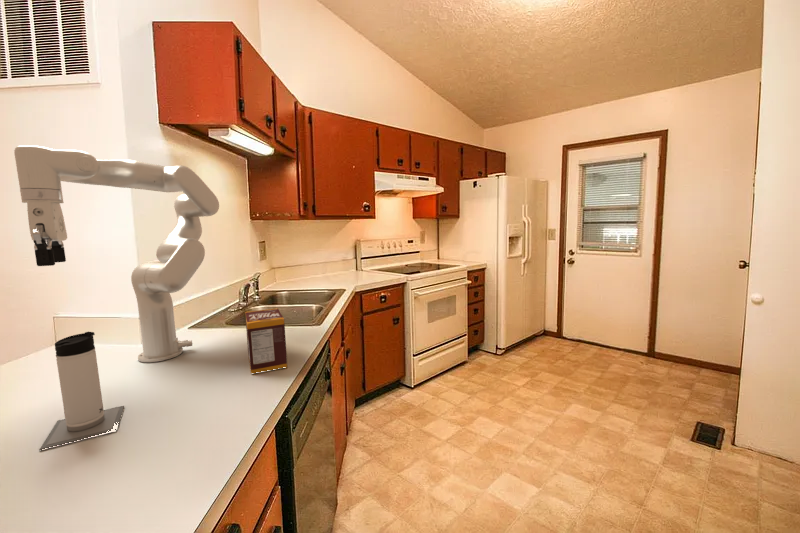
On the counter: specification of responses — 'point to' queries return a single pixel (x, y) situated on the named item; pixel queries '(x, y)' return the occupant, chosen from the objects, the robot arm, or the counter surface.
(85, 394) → the travel mug
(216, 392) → the counter surface
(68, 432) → the mat
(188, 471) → the counter surface
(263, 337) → the supplement box
